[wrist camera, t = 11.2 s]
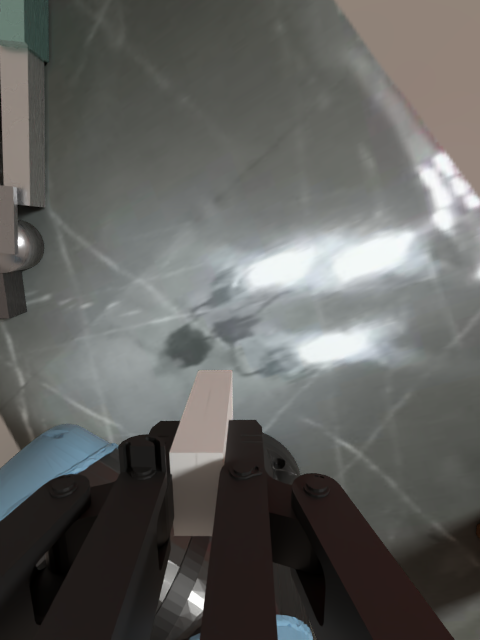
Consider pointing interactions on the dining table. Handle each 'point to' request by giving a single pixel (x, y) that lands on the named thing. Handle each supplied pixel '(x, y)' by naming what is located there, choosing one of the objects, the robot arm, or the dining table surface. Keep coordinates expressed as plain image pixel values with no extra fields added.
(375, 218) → the dining table surface
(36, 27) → the tongs jaw
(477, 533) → the whiskey bottle
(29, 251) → the tongs fixed
